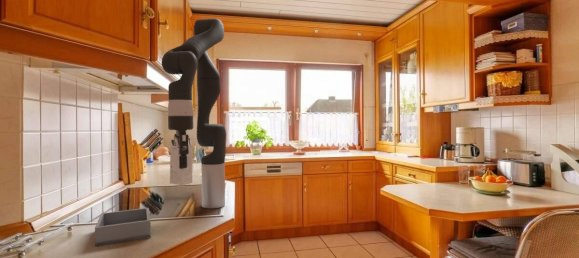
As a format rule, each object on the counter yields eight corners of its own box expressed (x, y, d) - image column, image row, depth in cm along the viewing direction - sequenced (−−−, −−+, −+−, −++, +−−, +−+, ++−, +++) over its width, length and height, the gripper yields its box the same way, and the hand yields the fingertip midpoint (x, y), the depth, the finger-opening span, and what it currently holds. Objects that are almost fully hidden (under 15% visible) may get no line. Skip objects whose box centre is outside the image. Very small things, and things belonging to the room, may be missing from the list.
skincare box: (169, 183, 94) (168, 145, 94) (180, 181, 98) (180, 144, 98) (182, 185, 91) (182, 146, 91) (193, 183, 95) (193, 145, 95)
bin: (101, 229, 94) (101, 213, 94) (148, 222, 100) (148, 207, 100) (95, 246, 80) (94, 227, 80) (150, 237, 86) (150, 220, 86)
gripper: (196, 114, 90) (197, 168, 90) (189, 115, 103) (190, 163, 103) (170, 114, 86) (171, 170, 87) (166, 115, 99) (166, 164, 99)
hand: (181, 166), depth 95 cm, fingers closed on skincare box, 7 cm apart
